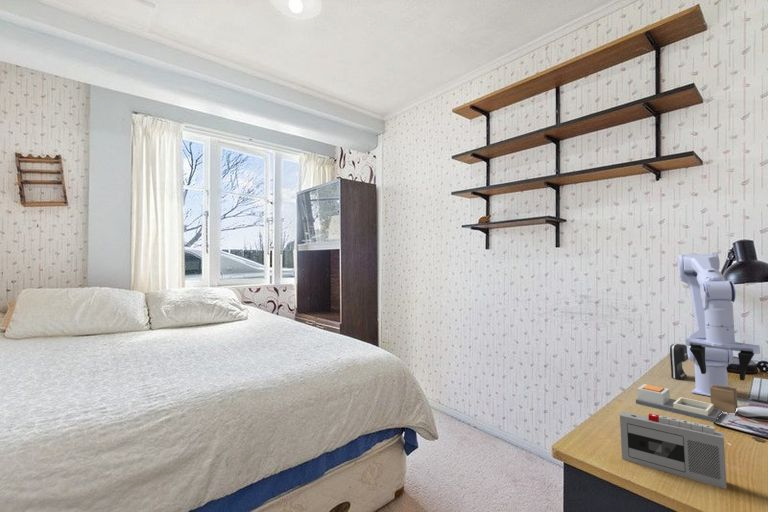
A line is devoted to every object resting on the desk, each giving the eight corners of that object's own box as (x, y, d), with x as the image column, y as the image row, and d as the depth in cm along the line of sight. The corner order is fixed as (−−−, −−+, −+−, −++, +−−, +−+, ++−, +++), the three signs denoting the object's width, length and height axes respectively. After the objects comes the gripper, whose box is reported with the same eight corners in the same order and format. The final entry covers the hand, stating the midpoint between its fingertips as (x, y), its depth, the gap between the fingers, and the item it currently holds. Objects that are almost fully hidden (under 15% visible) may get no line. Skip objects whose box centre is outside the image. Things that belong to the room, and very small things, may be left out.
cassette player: (622, 459, 74) (619, 410, 74) (624, 454, 76) (622, 406, 76) (726, 489, 63) (723, 432, 64) (726, 482, 65) (723, 427, 66)
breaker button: (647, 394, 105) (647, 384, 106) (664, 398, 102) (663, 387, 102) (643, 398, 103) (642, 387, 103) (660, 401, 100) (659, 391, 100)
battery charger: (685, 381, 120) (683, 347, 121) (671, 378, 123) (669, 345, 124) (690, 377, 124) (688, 343, 125) (676, 374, 127) (674, 342, 128)
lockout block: (715, 406, 99) (713, 384, 99) (737, 411, 96) (736, 388, 96) (711, 410, 96) (710, 388, 97) (734, 415, 93) (733, 392, 93)
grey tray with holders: (645, 396, 108) (644, 383, 108) (722, 413, 94) (721, 398, 94) (635, 403, 103) (635, 389, 103) (715, 422, 89) (714, 406, 89)
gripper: (681, 324, 100) (684, 373, 100) (755, 330, 89) (759, 386, 88) (688, 321, 104) (690, 368, 104) (759, 327, 93) (763, 379, 92)
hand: (722, 376), depth 96 cm, fingers open, 7 cm apart
